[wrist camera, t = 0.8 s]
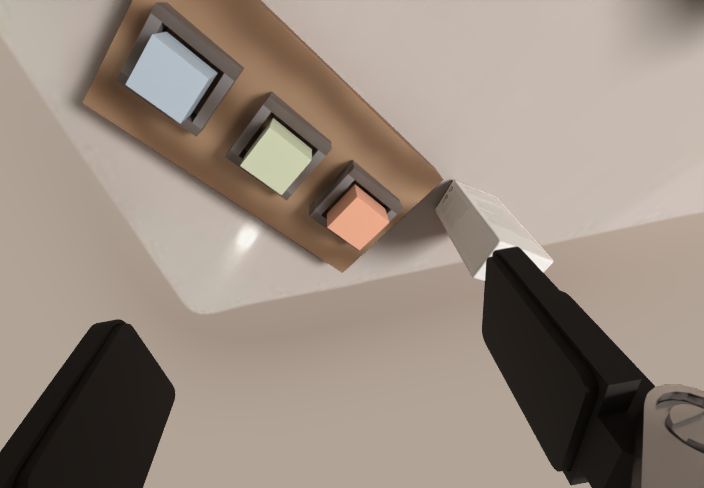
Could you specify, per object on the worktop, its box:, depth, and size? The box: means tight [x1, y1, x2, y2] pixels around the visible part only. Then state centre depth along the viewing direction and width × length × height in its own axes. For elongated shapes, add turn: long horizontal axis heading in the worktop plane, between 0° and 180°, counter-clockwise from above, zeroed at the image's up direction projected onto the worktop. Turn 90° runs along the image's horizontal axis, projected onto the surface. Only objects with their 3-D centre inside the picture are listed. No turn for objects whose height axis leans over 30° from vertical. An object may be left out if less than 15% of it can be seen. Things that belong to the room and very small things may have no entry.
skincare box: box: [435, 180, 553, 281], centre depth 35 cm, size 6×4×12 cm
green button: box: [240, 118, 312, 195], centre depth 29 cm, size 4×4×3 cm
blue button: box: [126, 32, 217, 124], centre depth 25 cm, size 4×4×3 cm
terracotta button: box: [327, 184, 390, 250], centre depth 33 cm, size 4×4×3 cm
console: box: [82, 0, 443, 273], centre depth 32 cm, size 15×28×5 cm, turn 48°
